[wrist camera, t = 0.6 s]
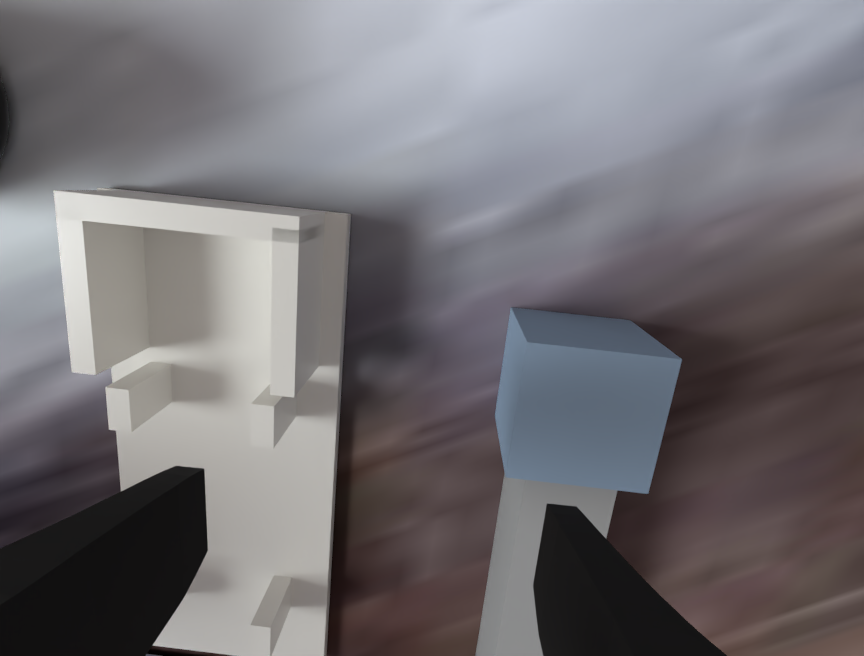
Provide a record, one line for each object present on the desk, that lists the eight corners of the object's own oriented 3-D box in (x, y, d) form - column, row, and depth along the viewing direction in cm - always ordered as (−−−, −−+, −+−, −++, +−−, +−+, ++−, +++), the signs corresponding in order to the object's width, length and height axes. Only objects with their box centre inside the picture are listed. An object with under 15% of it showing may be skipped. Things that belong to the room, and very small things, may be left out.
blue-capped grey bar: (552, 676, 24) (574, 786, 19) (457, 665, 24) (458, 772, 19) (630, 320, 19) (682, 359, 14) (511, 307, 19) (527, 342, 15)
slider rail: (326, 654, 24) (304, 734, 20) (140, 632, 24) (87, 707, 20) (350, 213, 18) (326, 219, 15) (108, 188, 18) (27, 187, 15)
